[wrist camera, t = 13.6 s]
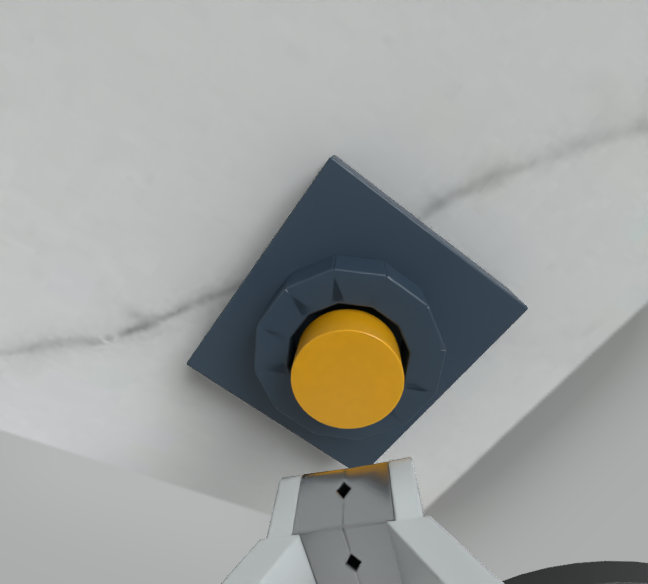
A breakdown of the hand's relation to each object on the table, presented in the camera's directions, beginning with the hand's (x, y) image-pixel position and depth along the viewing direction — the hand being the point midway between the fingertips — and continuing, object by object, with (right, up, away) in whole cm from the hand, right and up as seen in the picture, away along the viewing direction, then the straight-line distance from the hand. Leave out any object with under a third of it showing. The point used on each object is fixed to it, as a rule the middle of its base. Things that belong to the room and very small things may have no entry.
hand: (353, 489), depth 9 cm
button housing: (0, +3, +9) cm, 9 cm away
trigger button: (0, +2, +5) cm, 6 cm away
